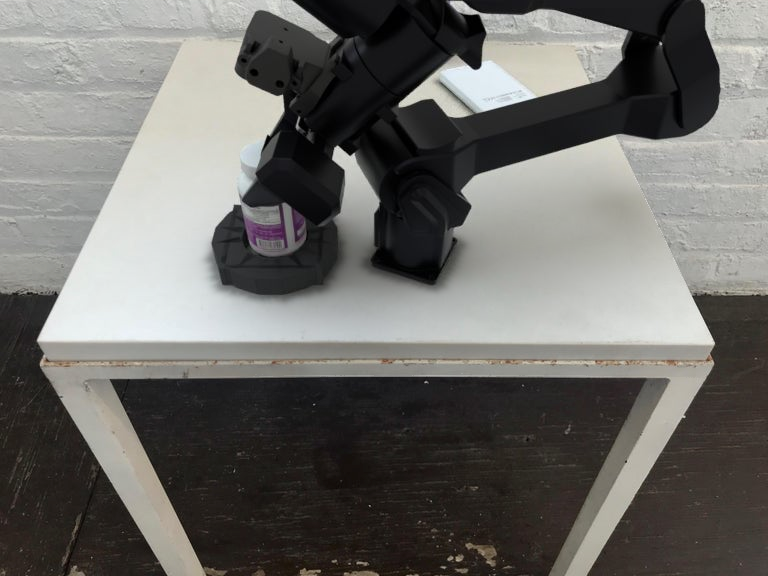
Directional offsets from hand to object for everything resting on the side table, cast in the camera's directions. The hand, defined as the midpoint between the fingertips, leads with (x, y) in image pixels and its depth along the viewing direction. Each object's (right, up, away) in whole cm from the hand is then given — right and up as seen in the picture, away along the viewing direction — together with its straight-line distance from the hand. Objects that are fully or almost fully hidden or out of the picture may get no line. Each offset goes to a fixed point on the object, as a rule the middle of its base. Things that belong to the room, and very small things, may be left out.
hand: (253, 182), depth 53 cm
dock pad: (+1, -5, +6) cm, 8 cm away
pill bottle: (+1, -5, +5) cm, 7 cm away
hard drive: (+25, +15, +27) cm, 40 cm away
